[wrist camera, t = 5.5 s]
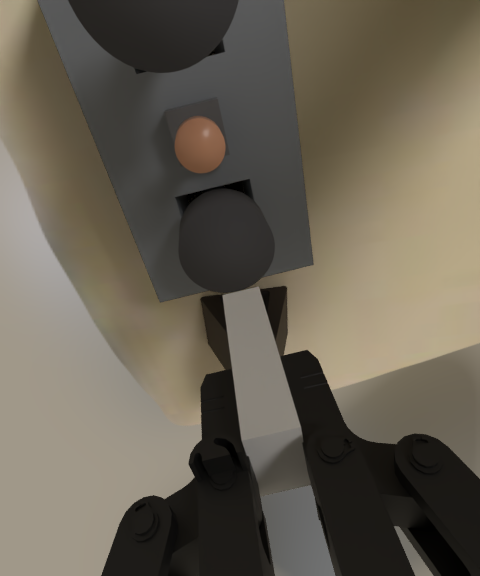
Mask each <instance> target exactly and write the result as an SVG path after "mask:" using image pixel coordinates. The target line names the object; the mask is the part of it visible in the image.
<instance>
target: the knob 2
mask: <svg viewBox="0 0 480 576" xmlns="http://www.w3.org/2000/svg"><path fill="white" fill-rule="evenodd" d="M274 252H275V242H274V237H273V234H272V231H271V229H270V227H269V225H268V223H267V221H266V219H265V217H264V215H263V213H262V211H261V209H260V208H259V206H258V205H257V204H256V202H255V201H254V200H252V199H251V198H250V197H249V196H247V195H245V194H244V193H242V192H239V191H236V190H232V189H226V187H225V186H223V185H222V186H218V187H214V188H210V189H206V190H204V191H203V194H201V195H200V196H198V197H197V198H195V199H194V200H193V201H192V202H191V203H190V204H189V205H188V207H187V208H186V209H185V211H184V213H183V215H182V218H181V221H180V229H179V248H178V253H179V260H180V263H181V266H182V268H183V270H184V272H185V273H186V274H187V276H188V277H189V278H190V279H191V280H192V281H193V282H194V283H196V284H197V285H199V286H200V287H202V288H204V289H207V290H210V291H214V292H220V293H229V292H236V291H240V290H243V289H245V288H248V287H250V286H251V285H253V284H255V283H256V282H257V281H259V280H260V279H261V278H262V277H263V276H264V275H265V273H266V272H267V271H268V269H269V267H270V265H271V263H272V261H273V257H274Z"/></svg>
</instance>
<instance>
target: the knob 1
mask: <svg viewBox="0 0 480 576" xmlns="http://www.w3.org/2000/svg"><path fill="white" fill-rule="evenodd" d="M68 1H69V4H70V5H71V7H72V9H73V11H74V13H75V15H76V16H77V18H78V20H79V21H80V22H81V24H82V25H83V27H84V28H85V30H86V31H87V32H88V33H89V34H90V36H91V37H92V38H93V39H94V40H95V41H96V42H97V43H98V44H99V45H100V46H101V47H102V48H103V49H104V50H105V51H107V52H108V53H109V54H110V55H112V56H113V57H114V58H116V59H118V60H119V61H121V62H123V63H125V64H127V65H129V66H131V67H134V68H136V69H140V70H143V71H147V72H154V73H170V72H176V71H180V70H183V69H186V68H189V67H191V66H193V65H195V64H197V63H199V62H200V61H201V60H203V59H204V58H206V57H207V56H208V55H209V54H210V53H211V52H212V51H213V50H214V49H215V48H216V47H217V46H218V44H219V43H220V42H221V40H222V39H223V37H224V36H225V34H226V32H227V31H228V29H229V27H230V25H231V22H232V20H233V18H234V15H235V12H236V9H237V5H238V1H239V0H68Z"/></svg>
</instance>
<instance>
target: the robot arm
mask: <svg viewBox="0 0 480 576" xmlns="http://www.w3.org/2000/svg"><path fill="white" fill-rule="evenodd" d="M222 296H223V304H224V311H225V319H226V326H227V334H228V342H229V349H230V357H231V364H232V369H228V370H224V371H220V372H216V373H211V374H207V375H206V376H205V379H204V381H203V383H202V385H201V413H202V415H201V424H202V440H201V441H200V442H199V443H198V444H197V445H196V446H195V447H194V449H193V451H192V452H191V454H190V459H189V466H190V468H191V470H192V472H193V474H194V476H195V478H194V479H193V480H192V481H191V482H190V483H189V484H188V485H186V486H185V487H184V488H182V489H181V490H179V491H177V492H176V493H174V494H172V495H171V496H169V497H167V498H166V499H163V498H161V497H158V496H154V495H153V496H148V497H143V498H142V499H140V500H138V501H137V502H135V503H134V504H133V505H132V506H131V507H130V508H129V509H128V511H126V513H125V515H124V516H123V518H122V520H121V522H120V524H119V527H118V530H117V533H116V536H115V539H114V541H113V544H112V547H111V550H110V553H109V555H108V558H107V561H106V564H105V567H104V570H103V572H102V575H101V576H275V574H274V568H273V562H272V556H271V549H270V543H269V538H268V531H267V525H266V519H265V516H264V513H263V511H262V505H261V498H260V496H264V495H269V494H273V493H277V492H282V491H286V490H290V489H295V488H299V487H303V486H308V485H311V486H312V489H313V493H314V496H315V501H316V506H317V512H318V517H319V520H320V521H321V525H322V528H323V532H324V536H325V539H326V543H327V546H328V550H329V553H330V557H331V561H332V564H333V568H334V572H335V575H336V576H415V575H414V572H413V570H412V568H411V565H410V563H409V560H408V558H407V556H406V554H405V551H404V549H403V547H402V544H401V542H400V540H399V537H398V535H397V533H396V530H395V528H394V526H399V527H400V528H401V530H402V531H403V532H404V534H405V535H406V537H407V538H408V540H409V541H410V542H411V544H412V545H413V547H414V548H415V550H416V551H417V552H418V554H419V555H420V556H421V558H422V559H423V561H424V562H425V564H426V565H427V567H428V568H429V570H430V571H431V572H432V574H433V575H434V576H480V479H479V478H478V477H477V476H476V475H475V474H474V473H473V472H472V471H471V470H470V469H469V468H468V467H467V466H466V465H465V464H464V463H463V462H462V460H460V458H459V457H458V456H457V455H456V454H455V453H454V452H453V451H451V449H450V448H449V447H448V446H446V445H445V444H443V443H442V442H441V441H440V440H438V439H436V438H434V437H431V436H428V435H424V434H412V435H408V436H405V437H403V438H402V439H401V440H400V441H399V442H398V443H397V444H386V443H375V442H370V441H366V440H364V439H362V438H359V437H358V436H357V435H355V434H354V433H352V432H351V431H350V429H348V427H347V426H346V424H345V422H344V420H343V418H342V415H341V413H340V411H339V408H338V406H337V404H336V401H335V399H334V397H333V394H332V392H331V389H330V387H329V385H328V383H327V380H326V378H325V375H324V374H323V370H322V368H321V366H320V363H319V361H318V359H317V358H316V357H315V356H314V355H312V354H311V353H310V352H309V351H308V350H305V351H300V352H296V353H292V354H288V355H284V356H280V355H279V352H278V349H277V345H276V342H275V339H274V335H273V332H272V329H271V325H270V322H269V319H268V315H267V312H266V309H265V305H264V302H263V299H262V295H261V292H260V289H259V286H258V287H254V288H250V289H246V290H242V291H238V292H233V293H229V294H225V295H222Z"/></svg>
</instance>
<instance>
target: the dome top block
mask: <svg viewBox="0 0 480 576" xmlns="http://www.w3.org/2000/svg"><path fill="white" fill-rule="evenodd" d="M164 113H165V116H166V119H167V123H168V126H169V130H170V133H171V136H172V140H173V143H174V147H175V153H176V156H177V158H178V160H179V164H180V167H182V166H184V167H185V168H186V169H188V170H190V171H192V172H195V173H207V172H210V171H212V170H214V169H215V168H217V167H218V166H219V165H220V163H221V162H222V160H223V158H224V156H227V155H230V153H229V149H228V144H227V139H226V135H225V130H224V126H223V121H222V116H221V112H220V107H219V103H218V98H217V97H215V98H211V99H207V100H203V101H199V102H195V103H191V104H187V105H183V106H179V107H175V108H171V109H167V110H165V112H164Z"/></svg>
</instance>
